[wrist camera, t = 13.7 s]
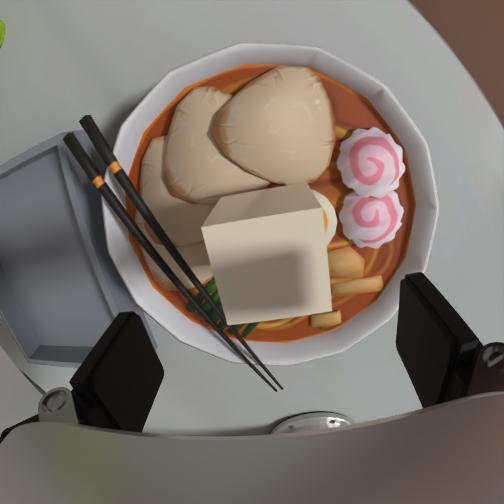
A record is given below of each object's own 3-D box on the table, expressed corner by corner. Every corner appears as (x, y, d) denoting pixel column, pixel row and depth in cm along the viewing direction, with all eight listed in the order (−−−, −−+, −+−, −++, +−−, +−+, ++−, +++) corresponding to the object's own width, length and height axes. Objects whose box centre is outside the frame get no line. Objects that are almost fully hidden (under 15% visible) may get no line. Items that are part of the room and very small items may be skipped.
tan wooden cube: (306, 182, 17) (322, 207, 12) (317, 261, 19) (332, 311, 14) (221, 197, 18) (201, 227, 13) (238, 273, 20) (227, 325, 15)
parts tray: (87, 129, 23) (62, 132, 20) (157, 346, 32) (146, 370, 29) (-22, 187, 26) (-44, 195, 22) (42, 346, 35) (28, 362, 31)
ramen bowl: (433, 255, 26) (475, 298, 19) (236, 353, 32) (227, 411, 25) (310, 11, 19) (326, -33, 11) (91, 154, 24) (35, 169, 17)
